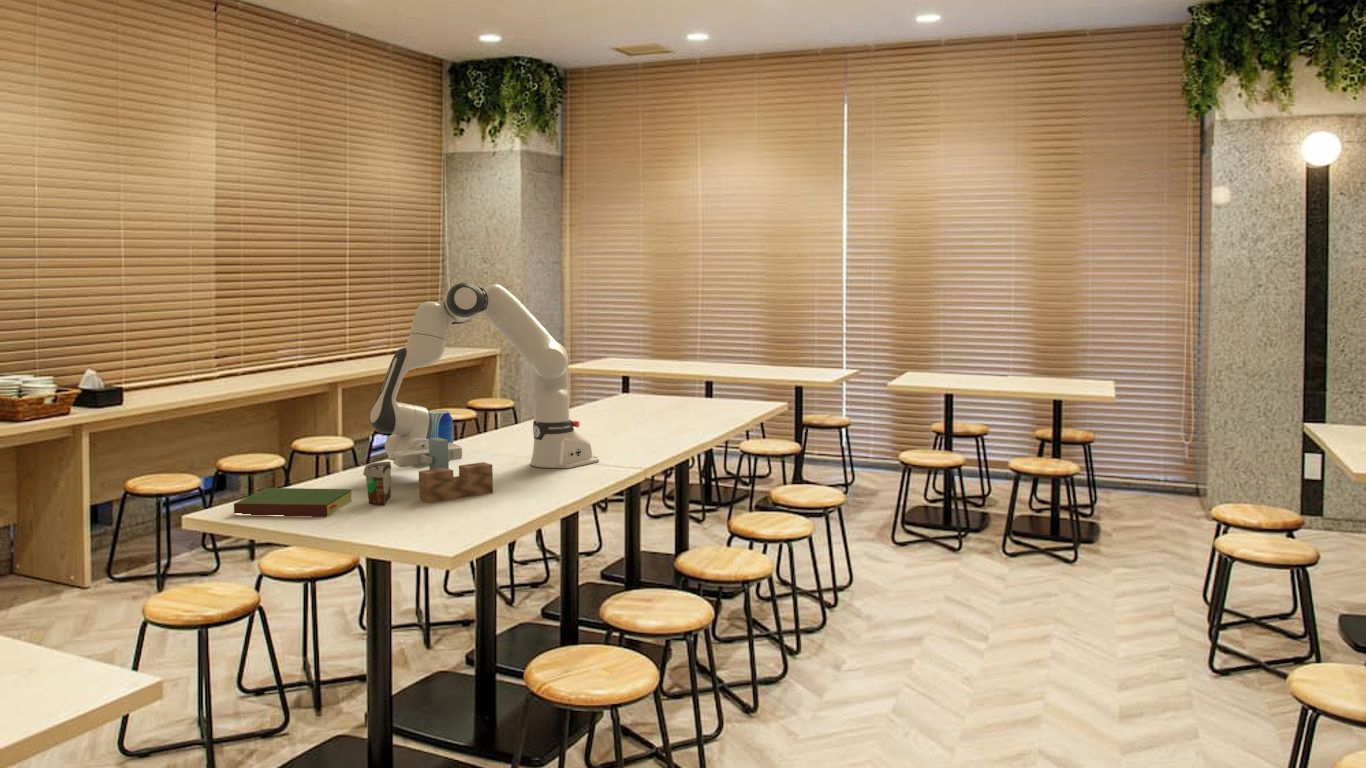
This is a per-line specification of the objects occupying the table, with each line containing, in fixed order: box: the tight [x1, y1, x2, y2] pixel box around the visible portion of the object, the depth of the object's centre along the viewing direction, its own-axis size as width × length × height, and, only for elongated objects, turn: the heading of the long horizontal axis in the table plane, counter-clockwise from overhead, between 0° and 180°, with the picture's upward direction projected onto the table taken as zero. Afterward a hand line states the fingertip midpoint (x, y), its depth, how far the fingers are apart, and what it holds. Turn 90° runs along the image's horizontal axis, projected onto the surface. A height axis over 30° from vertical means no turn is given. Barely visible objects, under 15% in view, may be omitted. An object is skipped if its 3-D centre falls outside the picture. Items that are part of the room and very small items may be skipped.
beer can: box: [428, 409, 454, 444], centre depth 352 cm, size 8×8×16 cm
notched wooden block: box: [418, 461, 494, 504], centre depth 299 cm, size 20×5×8 cm, turn 130°
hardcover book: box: [233, 487, 354, 518], centre depth 286 cm, size 25×19×4 cm
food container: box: [363, 461, 392, 507], centre depth 292 cm, size 12×6×10 cm, turn 5°
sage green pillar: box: [428, 438, 450, 470], centre depth 311 cm, size 3×6×14 cm, turn 40°
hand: (440, 459), depth 310 cm, fingers closed on sage green pillar, 3 cm apart
